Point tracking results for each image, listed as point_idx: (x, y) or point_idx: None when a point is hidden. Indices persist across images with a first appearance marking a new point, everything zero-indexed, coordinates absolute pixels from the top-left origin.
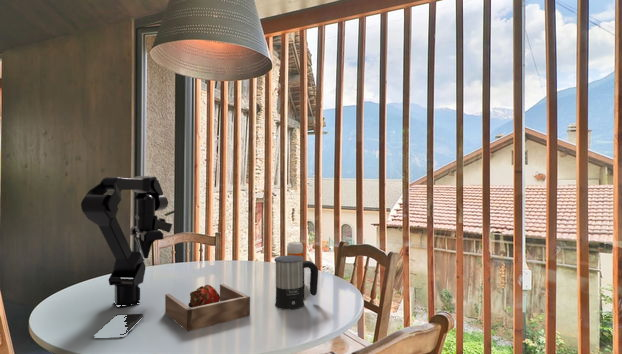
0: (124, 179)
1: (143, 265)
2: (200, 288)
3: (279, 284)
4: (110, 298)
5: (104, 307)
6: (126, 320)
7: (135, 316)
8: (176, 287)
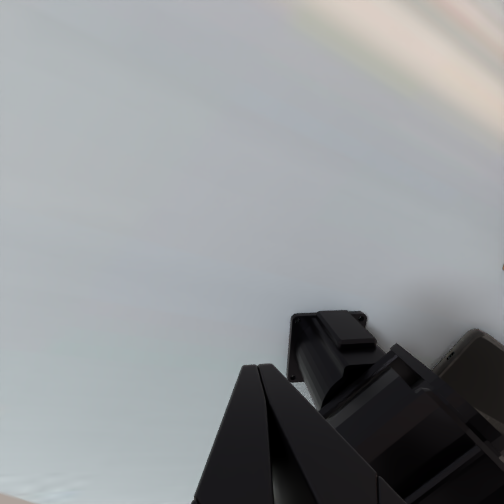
0: None
1: (487, 423)
2: None
3: None
4: (219, 377)
5: (311, 400)
6: (484, 373)
7: (477, 351)
8: (227, 97)
